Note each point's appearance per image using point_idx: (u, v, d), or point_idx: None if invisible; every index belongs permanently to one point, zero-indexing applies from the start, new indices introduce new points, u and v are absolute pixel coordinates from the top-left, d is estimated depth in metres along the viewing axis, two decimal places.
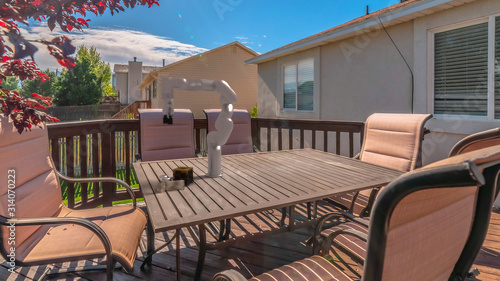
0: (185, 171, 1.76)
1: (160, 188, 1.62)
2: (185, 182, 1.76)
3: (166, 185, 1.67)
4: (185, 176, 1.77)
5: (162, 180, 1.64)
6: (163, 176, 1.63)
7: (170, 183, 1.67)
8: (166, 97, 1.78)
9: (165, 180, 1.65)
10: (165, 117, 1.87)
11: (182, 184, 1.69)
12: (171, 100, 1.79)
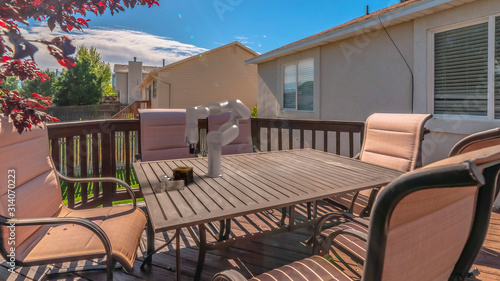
0: (185, 171, 1.76)
1: (160, 188, 1.62)
2: (185, 182, 1.76)
3: (166, 185, 1.67)
4: (185, 176, 1.77)
5: (162, 180, 1.64)
6: (163, 176, 1.63)
7: (170, 183, 1.67)
8: None
9: (165, 180, 1.65)
10: None
11: (182, 184, 1.69)
12: None
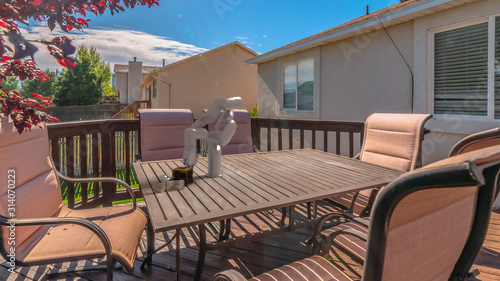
0: (184, 171, 1.75)
1: (160, 188, 1.62)
2: (184, 182, 1.76)
3: (166, 185, 1.67)
4: (184, 176, 1.76)
5: (162, 180, 1.64)
6: (163, 176, 1.63)
7: (170, 183, 1.67)
8: None
9: (165, 180, 1.65)
10: None
11: (182, 184, 1.69)
12: None
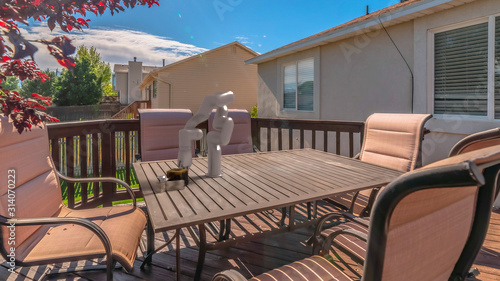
0: (179, 173, 1.70)
1: (160, 188, 1.62)
2: None
3: (166, 185, 1.67)
4: (179, 178, 1.71)
5: (160, 181, 1.63)
6: (161, 177, 1.62)
7: (170, 183, 1.67)
8: None
9: (163, 181, 1.64)
10: None
11: (182, 184, 1.69)
12: None
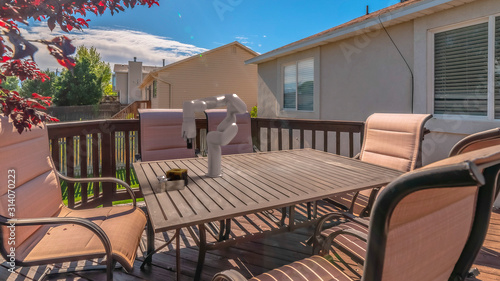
0: (179, 173, 1.70)
1: (160, 188, 1.62)
2: None
3: (166, 185, 1.67)
4: (179, 178, 1.71)
5: (159, 181, 1.62)
6: (160, 177, 1.61)
7: (170, 183, 1.67)
8: None
9: (162, 181, 1.63)
10: None
11: (182, 184, 1.69)
12: None
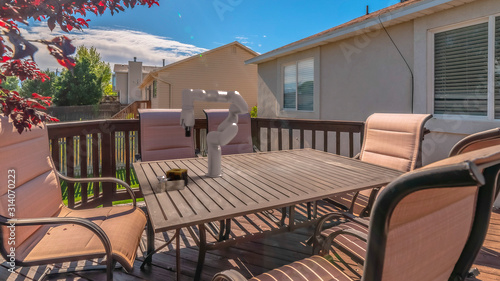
0: (179, 173, 1.70)
1: (160, 188, 1.62)
2: None
3: (166, 185, 1.67)
4: (179, 178, 1.71)
5: (159, 181, 1.62)
6: (160, 177, 1.61)
7: (170, 183, 1.67)
8: None
9: (162, 181, 1.63)
10: None
11: (182, 184, 1.69)
12: None
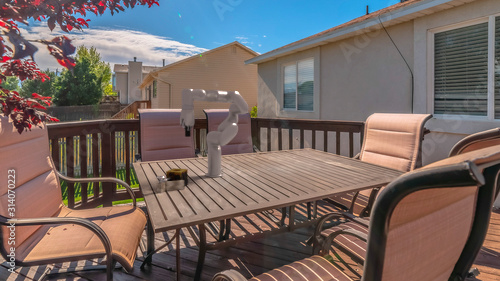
0: (179, 173, 1.70)
1: (160, 188, 1.62)
2: None
3: (166, 185, 1.67)
4: (179, 178, 1.71)
5: (159, 181, 1.62)
6: (160, 177, 1.61)
7: (170, 183, 1.67)
8: None
9: (162, 181, 1.63)
10: None
11: (182, 184, 1.69)
12: None
